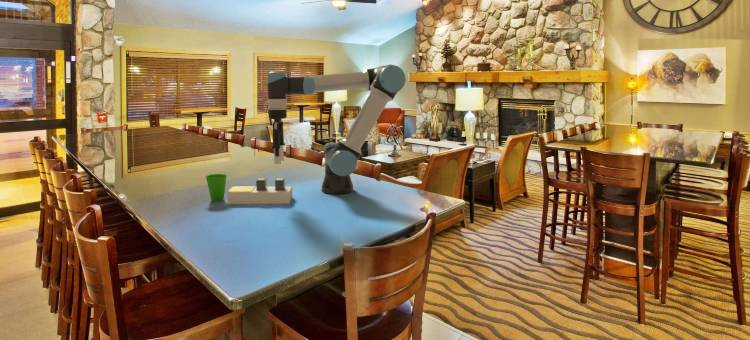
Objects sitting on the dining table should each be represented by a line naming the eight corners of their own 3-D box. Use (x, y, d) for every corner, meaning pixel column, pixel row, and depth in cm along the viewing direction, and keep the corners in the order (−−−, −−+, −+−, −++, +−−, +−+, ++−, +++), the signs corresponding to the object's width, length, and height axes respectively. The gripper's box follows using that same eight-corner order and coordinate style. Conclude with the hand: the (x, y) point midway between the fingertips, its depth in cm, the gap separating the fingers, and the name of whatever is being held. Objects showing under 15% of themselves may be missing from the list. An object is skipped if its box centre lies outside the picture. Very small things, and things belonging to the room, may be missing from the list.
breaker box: (292, 197, 214) (292, 185, 213) (289, 203, 203) (288, 191, 202) (233, 197, 212) (233, 186, 211) (227, 203, 201) (227, 191, 200)
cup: (221, 203, 202) (220, 178, 200) (202, 202, 204) (200, 177, 202) (232, 198, 211) (230, 174, 209) (213, 197, 213) (212, 173, 211)
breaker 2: (284, 192, 209) (284, 178, 208) (283, 194, 206) (283, 179, 204) (276, 192, 209) (276, 178, 208) (275, 194, 205) (274, 179, 204)
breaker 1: (266, 192, 209) (266, 178, 208) (265, 194, 205) (264, 179, 204) (258, 192, 209) (257, 178, 207) (256, 194, 205) (256, 180, 204)
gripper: (272, 107, 210) (274, 158, 215) (264, 110, 190) (266, 166, 194) (289, 107, 211) (290, 158, 215) (283, 110, 191) (284, 166, 195)
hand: (279, 162), depth 205 cm, fingers open, 8 cm apart
